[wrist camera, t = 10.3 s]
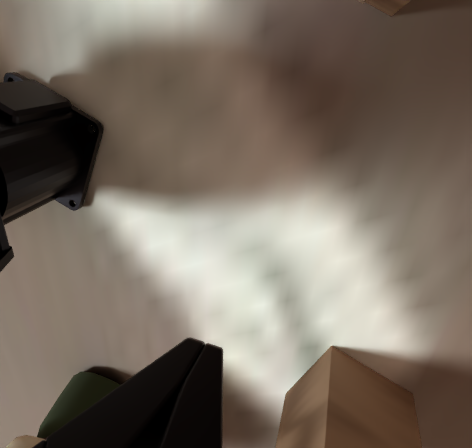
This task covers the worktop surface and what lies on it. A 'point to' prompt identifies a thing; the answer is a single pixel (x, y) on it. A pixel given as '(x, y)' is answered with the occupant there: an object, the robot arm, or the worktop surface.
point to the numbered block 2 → (387, 5)
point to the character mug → (69, 405)
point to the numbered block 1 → (347, 408)
